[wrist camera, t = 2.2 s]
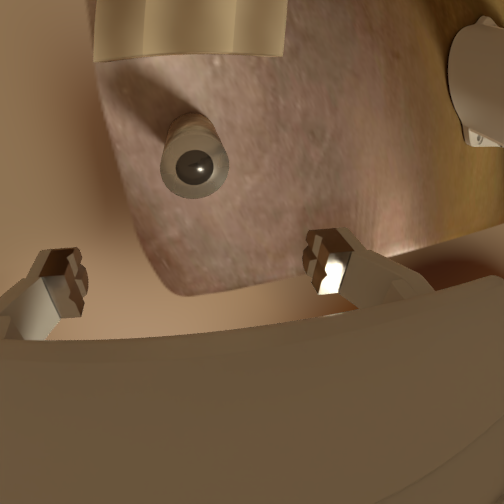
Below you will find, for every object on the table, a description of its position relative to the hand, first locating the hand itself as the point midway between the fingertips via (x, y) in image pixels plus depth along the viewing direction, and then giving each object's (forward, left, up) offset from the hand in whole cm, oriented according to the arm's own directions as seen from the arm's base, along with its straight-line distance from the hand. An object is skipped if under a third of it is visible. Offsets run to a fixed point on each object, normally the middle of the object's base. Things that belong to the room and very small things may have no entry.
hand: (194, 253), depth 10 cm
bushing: (0, 0, -16) cm, 16 cm away
